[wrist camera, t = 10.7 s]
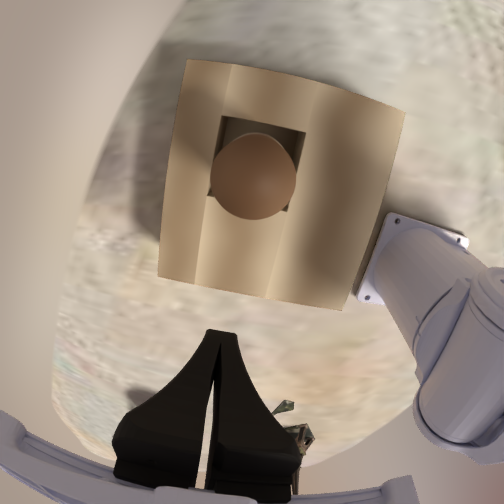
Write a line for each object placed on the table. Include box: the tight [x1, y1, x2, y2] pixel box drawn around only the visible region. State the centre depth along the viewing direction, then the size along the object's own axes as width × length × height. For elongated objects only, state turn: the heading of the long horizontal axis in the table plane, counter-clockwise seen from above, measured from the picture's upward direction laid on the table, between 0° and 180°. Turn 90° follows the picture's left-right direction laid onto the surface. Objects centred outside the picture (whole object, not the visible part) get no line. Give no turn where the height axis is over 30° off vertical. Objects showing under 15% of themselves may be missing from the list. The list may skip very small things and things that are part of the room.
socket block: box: [158, 59, 406, 311], centre depth 19 cm, size 13×14×4 cm
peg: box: [210, 132, 296, 220], centre depth 16 cm, size 4×4×8 cm
